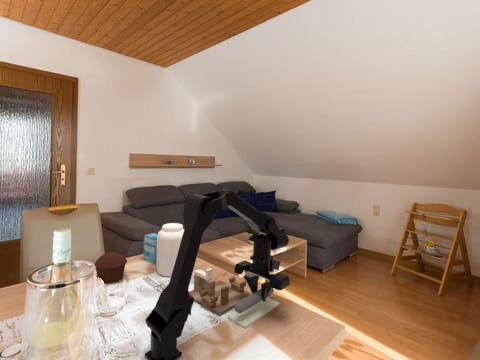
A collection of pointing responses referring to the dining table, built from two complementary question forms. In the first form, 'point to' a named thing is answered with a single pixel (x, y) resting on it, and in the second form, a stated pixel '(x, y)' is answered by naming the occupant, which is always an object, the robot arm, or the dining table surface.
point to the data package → (150, 248)
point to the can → (168, 247)
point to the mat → (253, 313)
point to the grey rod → (250, 301)
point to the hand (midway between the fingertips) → (259, 299)
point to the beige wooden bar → (204, 274)
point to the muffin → (110, 267)
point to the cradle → (218, 294)
